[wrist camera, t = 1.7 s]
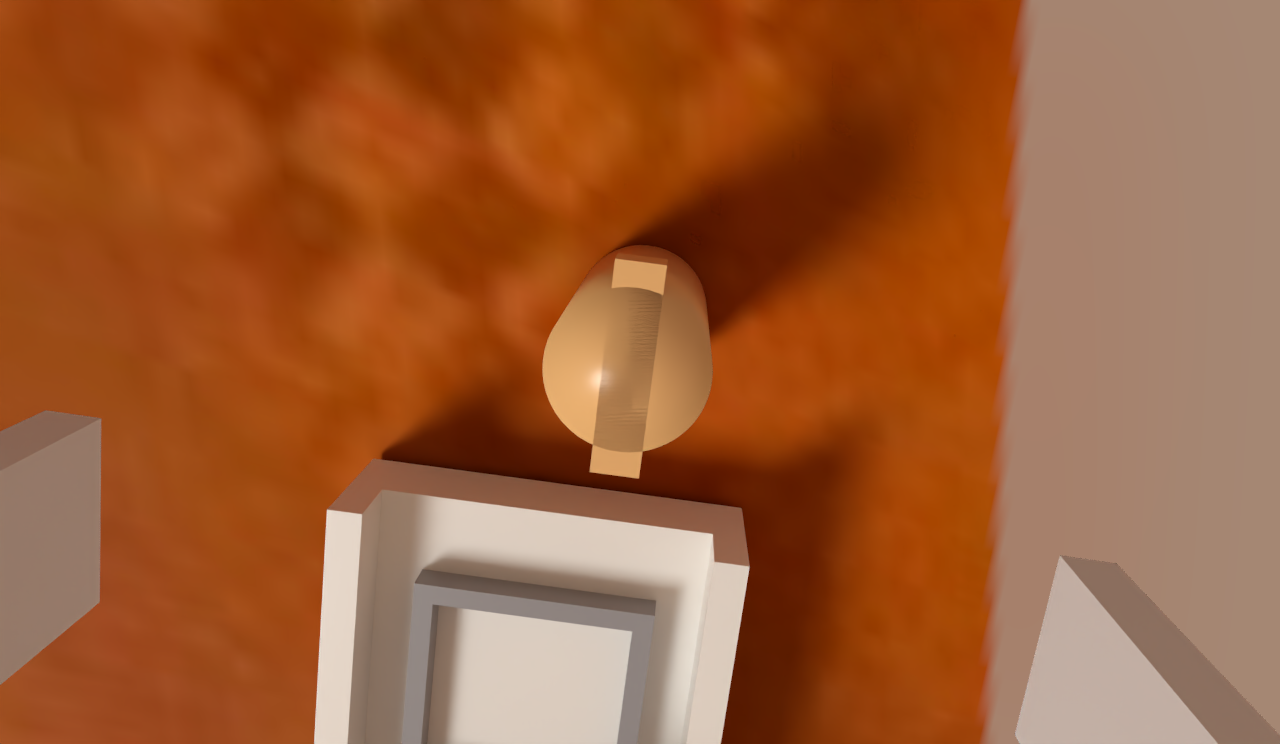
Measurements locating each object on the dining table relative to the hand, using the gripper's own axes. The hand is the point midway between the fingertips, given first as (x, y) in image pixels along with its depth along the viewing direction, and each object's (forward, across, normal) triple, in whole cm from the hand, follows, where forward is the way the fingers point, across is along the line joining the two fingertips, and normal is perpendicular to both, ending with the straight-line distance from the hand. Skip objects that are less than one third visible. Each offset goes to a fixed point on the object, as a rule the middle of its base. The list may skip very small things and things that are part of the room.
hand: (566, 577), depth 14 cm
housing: (+19, -2, -18) cm, 26 cm away
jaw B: (+19, 0, 0) cm, 19 cm away
